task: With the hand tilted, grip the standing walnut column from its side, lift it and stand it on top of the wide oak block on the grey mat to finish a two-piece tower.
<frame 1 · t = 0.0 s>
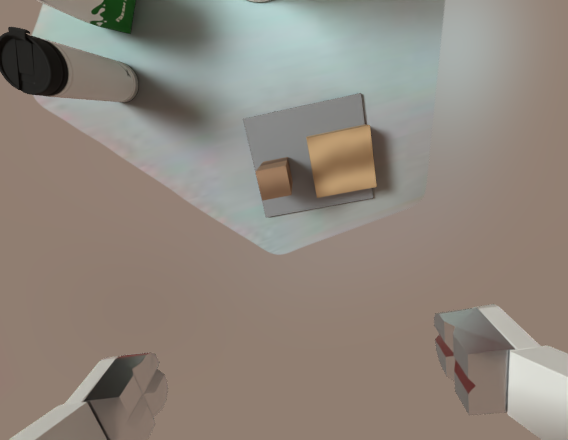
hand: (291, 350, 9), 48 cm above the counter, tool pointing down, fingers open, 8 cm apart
travel mug: (121, 81, 52), on the counter
walnut column: (277, 171, 55), point 1 cm above the counter, touching grey mat
grey mat: (309, 159, 54), on the counter
oak base block: (339, 159, 54), point 1 cm above the counter, touching grey mat
milk carton: (113, 2, 48), on the counter
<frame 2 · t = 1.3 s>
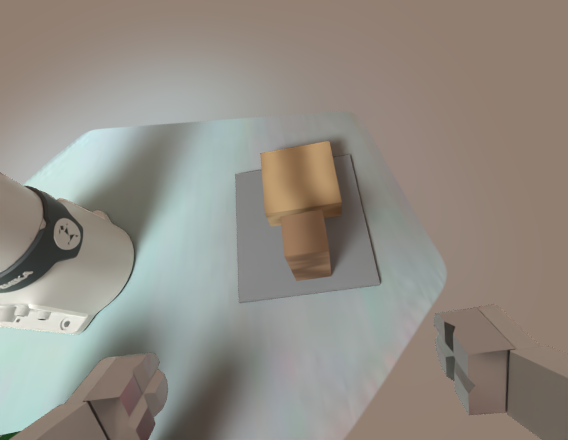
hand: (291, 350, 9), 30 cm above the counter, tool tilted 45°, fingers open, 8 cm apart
walnut column: (311, 262, 40), point 1 cm above the counter, touching grey mat
grey mat: (299, 224, 44), on the counter
oak base block: (301, 191, 45), point 1 cm above the counter, touching grey mat
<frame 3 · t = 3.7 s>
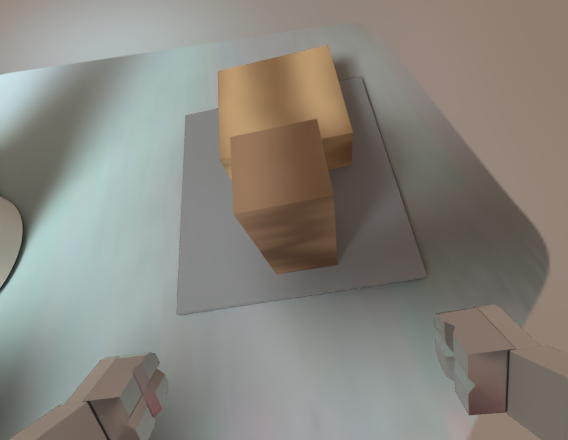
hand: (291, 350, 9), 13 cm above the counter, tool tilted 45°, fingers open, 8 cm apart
walnut column: (302, 241, 23), point 1 cm above the counter, touching grey mat
grey mat: (282, 182, 27), on the counter
oak base block: (286, 132, 28), point 1 cm above the counter, touching grey mat
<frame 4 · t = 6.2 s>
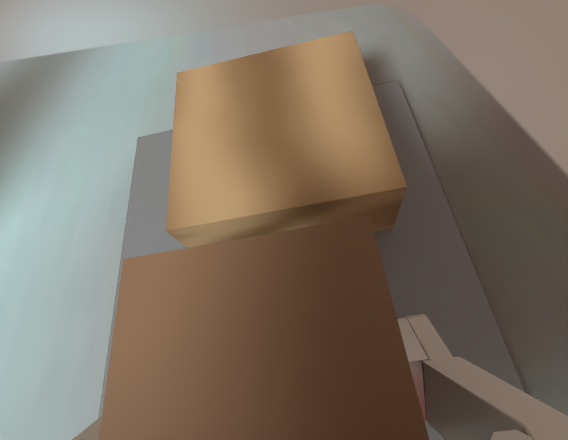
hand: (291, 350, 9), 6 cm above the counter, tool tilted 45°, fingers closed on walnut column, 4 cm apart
walnut column: (312, 373, 13), point 1 cm above the counter, touching grey mat, gripper
grey mat: (278, 252, 17), on the counter
oak base block: (284, 167, 18), point 1 cm above the counter, touching grey mat
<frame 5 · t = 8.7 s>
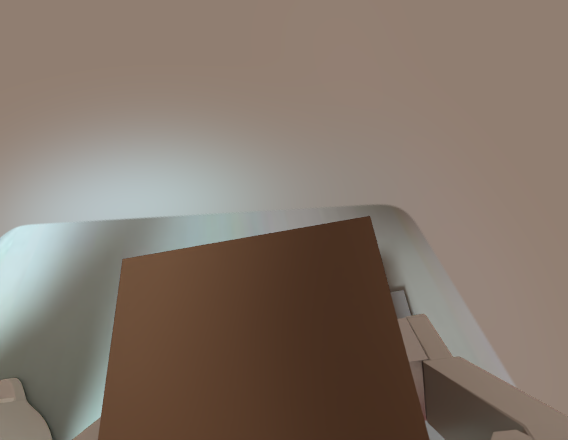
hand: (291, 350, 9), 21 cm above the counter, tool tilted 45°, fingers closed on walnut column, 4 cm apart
walnut column: (312, 373, 13), point 16 cm above the counter, touching gripper
grey mat: (327, 427, 26), on the counter
when the fingers open (11 cm above the counter, at t = 11.1 s): walnut column drops 1 cm, resting on oak base block.
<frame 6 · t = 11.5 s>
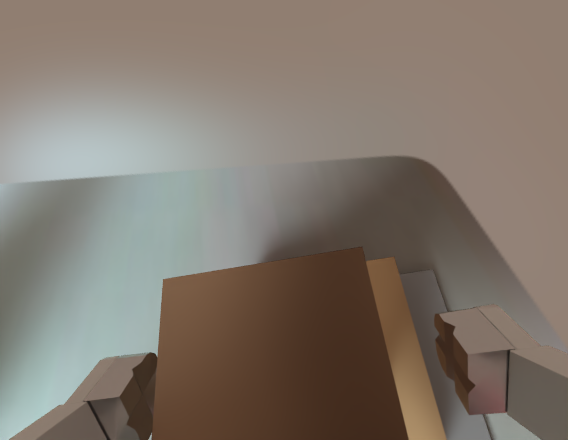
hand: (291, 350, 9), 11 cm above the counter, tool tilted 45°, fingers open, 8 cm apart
walnut column: (314, 372, 15), point 5 cm above the counter, touching oak base block
oak base block: (321, 371, 18), point 1 cm above the counter, touching grey mat, walnut column
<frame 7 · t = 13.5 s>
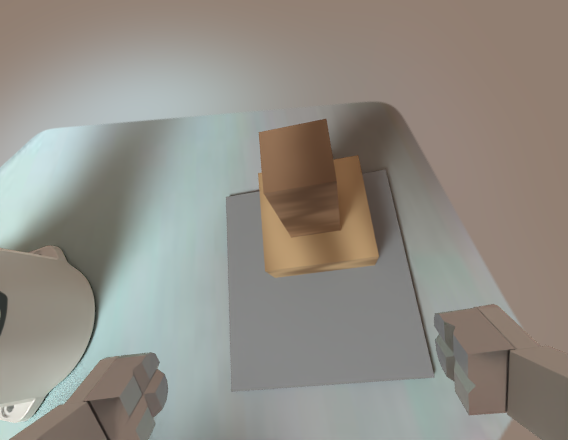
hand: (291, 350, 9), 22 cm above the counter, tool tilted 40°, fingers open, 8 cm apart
walnut column: (312, 211, 29), point 5 cm above the counter, touching oak base block
grey mat: (314, 273, 31), on the counter
oak base block: (317, 224, 32), point 1 cm above the counter, touching grey mat, walnut column
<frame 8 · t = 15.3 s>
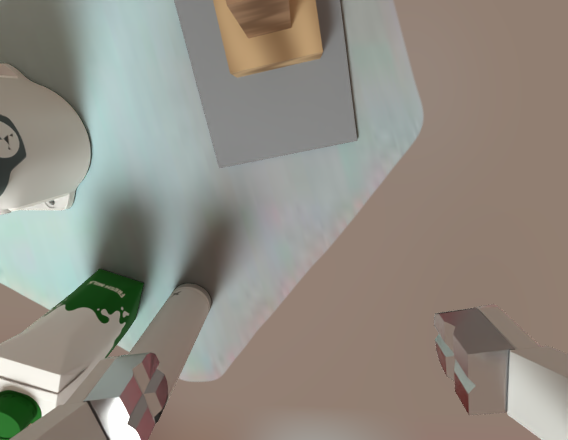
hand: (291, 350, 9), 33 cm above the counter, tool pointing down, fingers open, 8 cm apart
travel mug: (191, 299, 48), on the counter
walnut column: (264, 8, 31), point 5 cm above the counter, touching oak base block
grey mat: (270, 70, 37), on the counter
oak base block: (269, 20, 34), point 1 cm above the counter, touching grey mat, walnut column
milk carton: (119, 293, 48), on the counter
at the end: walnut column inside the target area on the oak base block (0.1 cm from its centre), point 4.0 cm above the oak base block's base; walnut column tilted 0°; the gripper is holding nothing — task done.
